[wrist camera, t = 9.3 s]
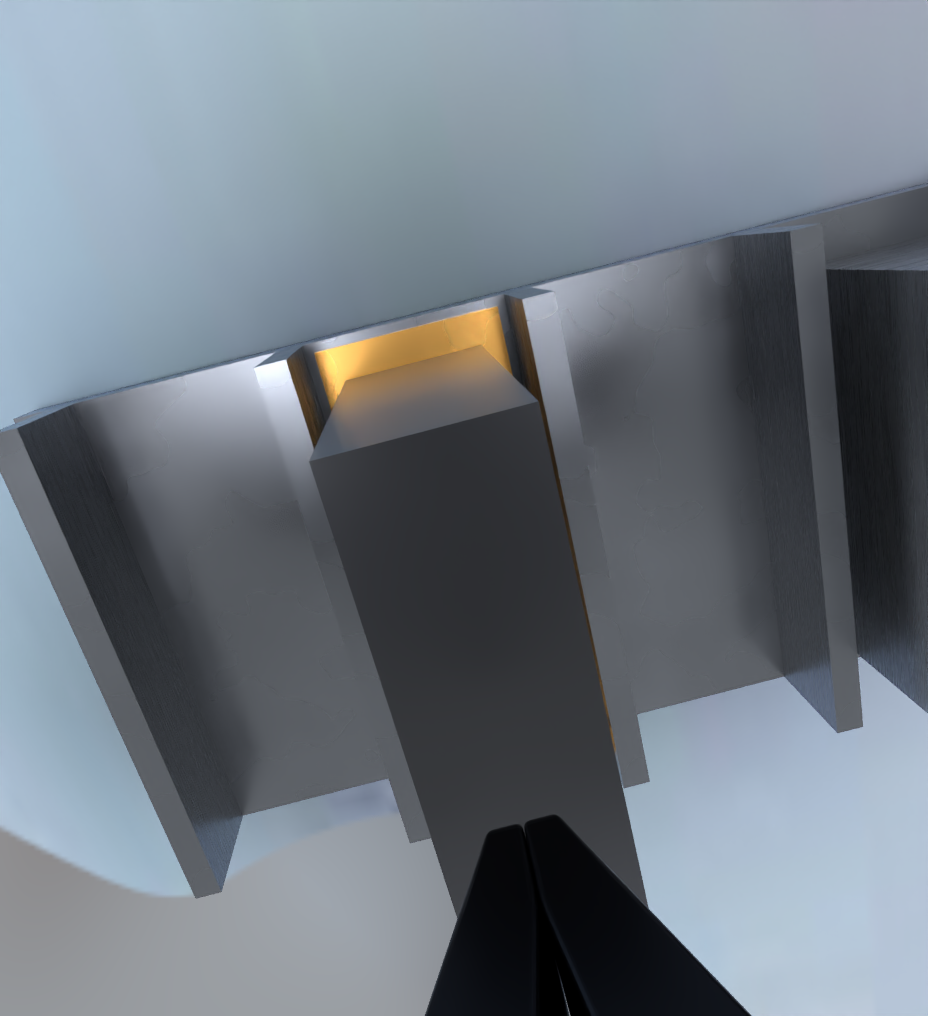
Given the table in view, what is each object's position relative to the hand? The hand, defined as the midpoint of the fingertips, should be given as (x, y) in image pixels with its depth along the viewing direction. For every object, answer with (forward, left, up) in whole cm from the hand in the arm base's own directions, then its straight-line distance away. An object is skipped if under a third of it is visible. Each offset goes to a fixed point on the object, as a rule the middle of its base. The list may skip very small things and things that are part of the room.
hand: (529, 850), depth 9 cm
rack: (-3, 0, -10) cm, 11 cm away
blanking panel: (0, 0, -9) cm, 9 cm away
